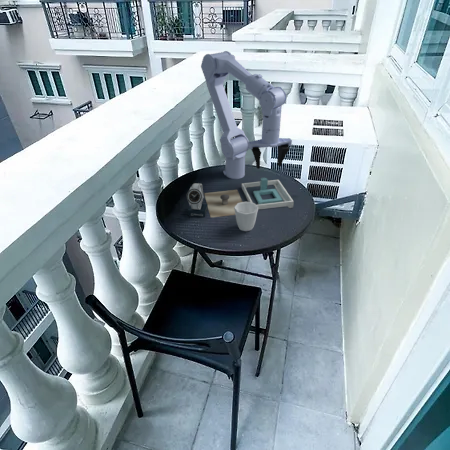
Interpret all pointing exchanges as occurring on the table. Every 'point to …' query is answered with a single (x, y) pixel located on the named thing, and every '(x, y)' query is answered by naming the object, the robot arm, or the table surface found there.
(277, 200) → the teal frame with handle
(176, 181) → the table surface
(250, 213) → the cup
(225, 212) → the board
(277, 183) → the tray
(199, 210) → the watch
